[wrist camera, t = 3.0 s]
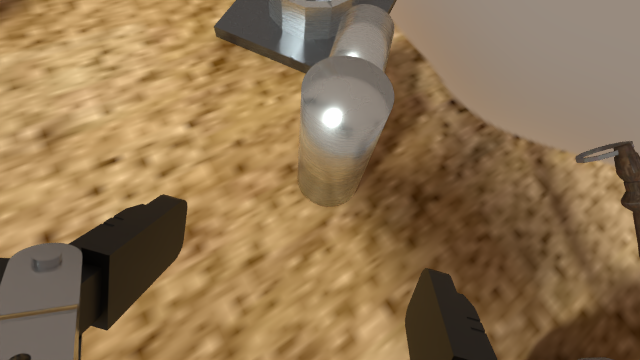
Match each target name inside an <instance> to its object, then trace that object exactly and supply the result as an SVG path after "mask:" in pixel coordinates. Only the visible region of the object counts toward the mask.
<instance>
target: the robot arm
mask: <svg viewBox="0 0 640 360" xmlns="http://www.w3.org/2000/svg"><path fill="white" fill-rule="evenodd" d="M186 215H187V202H186V201H185V200H182V199H178V198H175V197H171V196H168V195H164V194H163V195H160V196H159V197H157V198H156V199H154V200H153V201H151V202H150V203H148V204H147V205H144V204H141V205H137V206H134V207H130V208H127V209H125V210H123V211H121V212H120V213H118V214H116V215H115V216H114V217H113V218H110V219H108V220H107V221H105V222H104V223H103V224H100V225H99V226H97V227H95V228H94V229H92V230H91V231H89V232H87V233H86V234H84V235H82V236H81V237H79V238H78V239H76V240H74V241H73V242H71V243H69V244H64V243H46V244H40V245H35V246H31V247H28V248H26V249H23V250H21V251H19V252H18V253H16V254H15V255H13V256H12V257H11V258H0V360H81V357H82V333H83V332H84V331H85V330H87V329H88V328H89V327H90V326H94V327H97V328H100V329H104V330H108V329H109V328H110V327H111V326H112V325H113V324H114V323H115V322H116V321H117V320H118V319H119V318H120V317H121V316H122V315H123V314H124V313H125V312H126V311H127V310H128V308H129V307H130V306H131V305H132V304H133V303H134V302H135V301H136V300H137V299H138V298H139V297H140V296H141V295H142V294H143V293H144V292H145V291H146V290H147V289H148V288H149V287H150V286H151V285H152V283H153V282H154V281H155V280H156V279H157V278H158V277H159V276H160V275H161V274H162V273H163V272H164V271H165V270H166V269H167V268H168V267H169V266H170V265H171V264H172V263H173V262H174V261H175V259H176V258H177V257H178V255H179V253H180V251H181V248H182V245H183V240H184V232H185V224H186ZM405 327H406V334H407V341H408V348H409V355H410V360H497V358H496V355H495V353H494V351H493V348H492V346H491V344H490V342H489V339H488V337H487V335H486V334H485V330H484V328H483V326H482V323H480V319H479V316H478V314H477V312H476V310H475V307H474V306H473V305H472V304H471V303H470V302H469V301H468V299H467V298H466V297H465V296H464V295H463V294H460V293H457V291H456V289H455V286H454V284H453V281H452V279H451V276H450V275H449V274H446V273H442V272H439V271H435V270H431V269H428V268H425V269H424V270H423V271H422V273H421V276H420V278H419V281H418V283H417V285H416V288H415V290H414V293H413V295H412V298H411V300H410V303H409V305H408V308H407V312H406V318H405Z"/></svg>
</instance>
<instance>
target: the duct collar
mask: <svg viewBox="0 0 640 360" xmlns="http://www.w3.org/2000/svg"><path fill="white" fill-rule="evenodd" d="M395 2H396V0H236V1H235V2H234V3H233V5H232V6H231V7H230V8H229V9H228V10H227V12H226V13H225V14H224V15H223V16H222V18H221V19H220V20H219V21H218V22H217V23H216V25H215V26H214V29H215V33H216V36H217V37H219V38H221V39H224V40H226V41H229V42H231V43H233V44H236V45H238V46H241V47H243V48H246V49H248V50H250V51H253V52H255V53H258V54H260V55H262V56H265V57H267V58H270V59H272V60H275V61H277V62H279V63H282V64H284V65H287V66H289V67H291V68H294V69H296V70H299V71H301V72H303V73H307V72H308V70H309V69H310V68H311V67H312V66H314V65H315V64H316V63H318V62H319V61H321V60H323V59H326V58H329V55H330V52H331V49H332V46H333V43H334V40H335V37H336V34H337V31H338V28H339V25H340V22H341V19H342V17H343V15H344V13H345V12H346V11H347V10H348V9H350V8H351V7H353V6H356V5H360V4H371V5H375V6H377V7H380V8H381V9H383V10H384V11H386V12H387V13H388V14H389V13H390V12H391V10H392V8H393V6H394V4H395Z"/></svg>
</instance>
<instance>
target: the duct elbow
mask: <svg viewBox="0 0 640 360" xmlns="http://www.w3.org/2000/svg"><path fill="white" fill-rule="evenodd" d="M393 34H394V24H393V21H392V19H391V17H390V16H389V14H388V13H387V12H386V11H384V10H383V9H381V8H380V7H377V6H375V5H371V4H360V5H356V6H353V7H351V8H350V9H348V10H347V11H346V12H345V13H344V15H343V17H342V19H341V22H340V25H339V28H338V31H337V34H336V37H335V40H334V43H333V46H332V49H331V52H330V55H329V58H326V59H323V60H321V61H319V62H318V63H316V64H315V65H314V66H312V67H311V68H310V69H309V70H308V72H307V73H306V75H305V77H304V79H303V82H302V90H301V112H300V134H299V156H298V185H299V188H300V190H301V192H302V193H303V194H304V196H305V197H306V198H308V199H309V200H310V201H312V202H313V203H315V204H318V205H321V206H327V207H331V206H338V205H341V204H343V203H345V202H346V201H348V200H349V199H350V198H351V197H352V196H353V195H354V193H355V191H356V189H357V187H358V185H359V183H360V180H361V178H362V176H363V173H364V171H365V169H366V167H367V164H368V162H369V160H370V157H371V155H372V153H373V151H374V148H375V146H376V144H377V141H378V139H379V137H380V135H381V132H382V130H383V128H384V126H385V123H386V121H387V119H388V116H389V114H390V112H391V110H392V107H393V104H394V90H393V86H392V84H391V82H390V80H389V78H388V77H387V75H386V74H385V69H386V64H387V60H388V56H389V51H390V47H391V43H392V39H393Z"/></svg>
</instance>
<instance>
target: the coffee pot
mask: <svg viewBox="0 0 640 360" xmlns="http://www.w3.org/2000/svg"><path fill="white" fill-rule="evenodd" d="M610 148H614V151H613V152H609V153H606V154H602V155H599V156H594V157H588V158H583V157H585V156H587V155H590V154H593V153H596V152H599V151H603V150H606V149H610ZM612 156H615V157H614V161H615V167H616V173H617V175H618V176H619V177H620V178H621V179H622V180H623V181H624V186H625V189H626V192H625V194H624V195H623V197H622V199H621V204H622V205H623V206H624V207H626V208H627V209H629V210H631V211H633V218H634V224H635V230H636V236H637V242H638V250H639V257H640V156H639V155H638V153H637V152H635V150H634V145H633V142H632V141H627V142H619V143H614V144H609V145H606V146H602V147H598V148H595V149H592V150H590V151H586V152H584V153H581V154H579V155H578V156H576V162H577V163H585V162H591V161H597V160H601V159H605V158H609V157H612ZM577 360H613V359H609V358H606V357H599V358H580V359H577Z"/></svg>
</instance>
